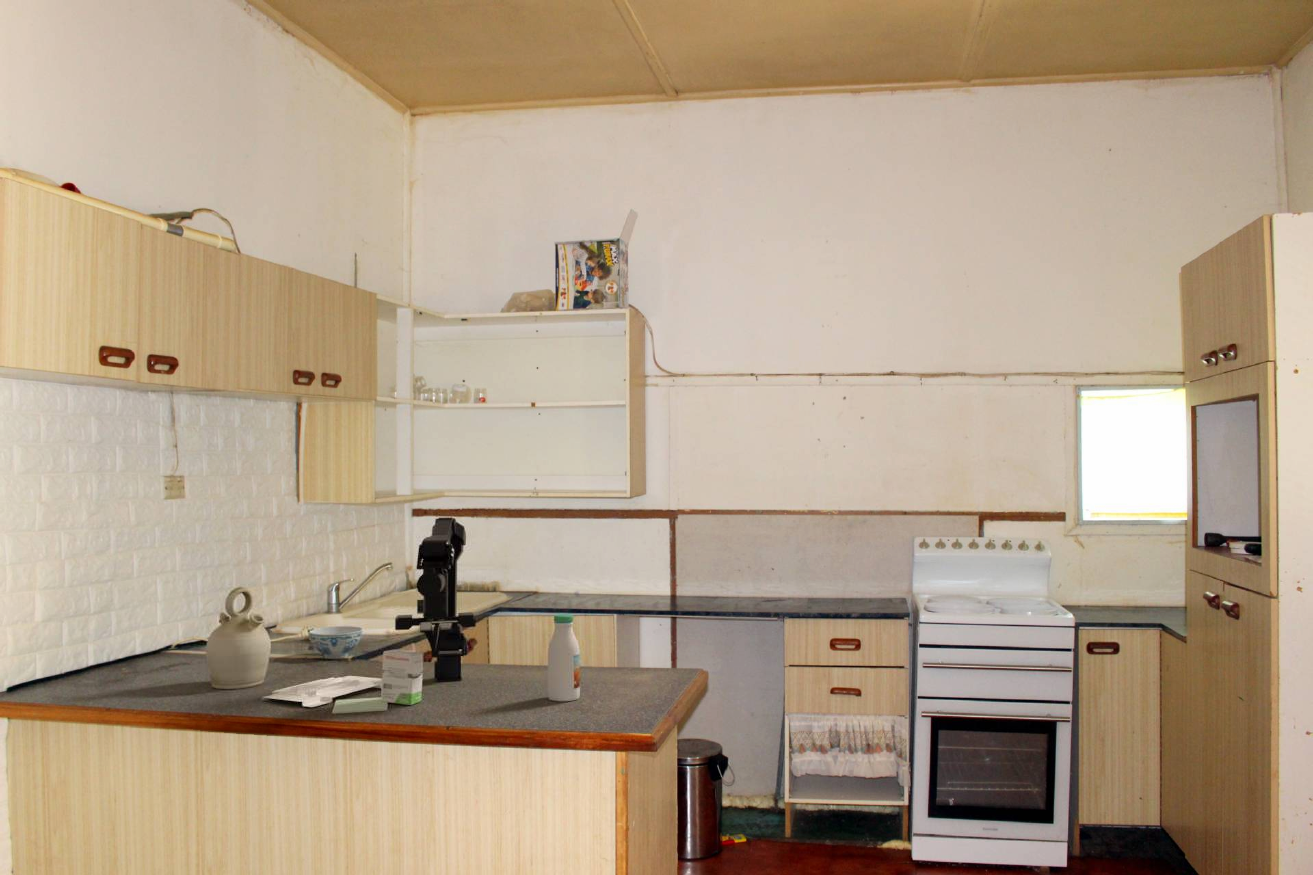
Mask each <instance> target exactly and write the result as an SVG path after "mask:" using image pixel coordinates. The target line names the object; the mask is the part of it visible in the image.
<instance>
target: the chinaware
mask: <svg viewBox="0 0 1313 875" xmlns="http://www.w3.org/2000/svg"><path fill="white" fill-rule="evenodd" d="M362 634H363V628H362V627H358V626H350V625H349V626H347V625H346V626H345V625H344V626H338V625H337V626H336V625H335V626H326V627H318V628H313V629H310V630H309V638H310V640H311V643H312V645H313V646H314V648H315V649H316V650H317V651H318V652H320V653H321V654H322V655H323V657H324V658H325V659H342V658H346V657H348V656H349V653H350V652H351V651H353V649H355V648H356V646H357V645H358V644H359V642H360V640H361V637H362Z"/></svg>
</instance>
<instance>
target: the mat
mask: <svg viewBox="0 0 1313 875" xmlns="http://www.w3.org/2000/svg"><path fill="white" fill-rule="evenodd" d="M388 703H389V702H383V701H381V696H380V697H366V698H348V699H336V700H335V702H334V706H333V707H332V711H331V714H335V715H336V714H351V713H353V714H354V713H365V712H366V713H369V712H382V711H388V707H389V704H388Z"/></svg>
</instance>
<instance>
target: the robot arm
mask: <svg viewBox="0 0 1313 875" xmlns="http://www.w3.org/2000/svg"><path fill="white" fill-rule="evenodd" d="M434 521H435V524H434V525H432V528H431V535H430V536H427V537H424V538H423V540H422V541H421V544H419V545H418V552H417V561H416V570H422V574H421V575H420V576H419V577H418V579H417V582H416V589H417V591H418V593H419V594H420V595H421V596H422V597H423V599H416V607H417V608H416V612H417V615H418V614H420V615H422V617H413V614H400V615H396V617H395V618H394V624H395V625H394V629H395V630H394V631H407V630H408V631H409V630H410V629H411V628H412V627H417V626H419V632H420V634H424V635H425V637H426V639H427V641H428V643H429V647H430V650H431V653H430V654H431V657H432V658H434V659H435V658H436V660H434V661H433V662H434V663H433V666H434V668H433V671H434V672H433V676H434V679H435V680H436V682H451V681H452V682H453V681H462V680H463V677H462V676H463V675H462V657H465V656H468V652H469V651H468V639H467V637H466V635H465V632H463V628H474V627H476V625H477V620H476V617H477V616H476V615H475V613H474V612H471V611H470V612H457V609H458V608H457V607H458V604H457V603H458V601H457V600H458V598H457V597H458V592H457V590H458V561H459V559H460V557H462V554H463V553H464V546H466V543H467V536H466V535H467V533H466V529H465V526H464V525H462V524H460V523H459V522H458V521H457V519H456V517H455V518H454V517H452V516H451V517H447V516H446V517H438V518H435V520H434ZM457 614H458V615H457Z"/></svg>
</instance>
